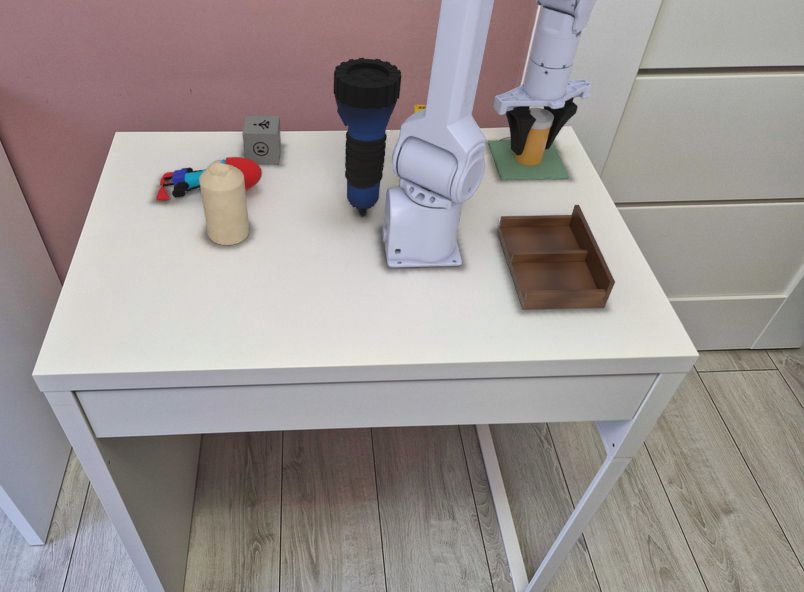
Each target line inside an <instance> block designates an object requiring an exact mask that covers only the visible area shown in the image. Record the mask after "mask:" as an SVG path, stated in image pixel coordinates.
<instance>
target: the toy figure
mask: <svg viewBox="0 0 804 592" xmlns="http://www.w3.org/2000/svg"><path fill="white" fill-rule="evenodd" d="M212 163H223V164H227V165H231V166H234V167H236V168H237V169H239V170H240V171H241V172H242V173H243V175H244V182H245V191H248V190H249V189H251V188H253V187H254V186H256V185H257V184H258V183H259V181H260V180H261V178H262V176H263V170H262V168H261V166H260V164H257V163H256V162H254V161H252V160H250V159H246V158H245V157H241V156H231V157H230V156H229V157H228V156H227V157H226V158H225V159H217V160H214V161H212V162H211V163H210V164H212ZM208 167H209V165H208V166H207V167H206V168H204V169H203V168H202V169H197V170H194V169H193V168H192V167H182V168H181V169H176V170H173V171H167V172H165V173H164V174H163V175H162V176H161V178H160V181H159V186H160V187H159V189H158V191H157V194H156V197H155V200H156V201H158V202H159V201H161V202H162V201H166V200H170V199H172V198H171V196H169V194H168V192H167V190H166V188H165V187H171V186H172V187H173V188H172V189H173V190H172V192H171V195H172V197H173V198H175V199H176V198H177V199H178V198H184V197H185V195H186V192H191V191H193V190H198V189H201V188H200V182H199V178H200V175H201V174H202V173H203V172H204V171H205V170H206V169H207V168H208ZM169 181H171V182H169Z"/></svg>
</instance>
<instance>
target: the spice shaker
mask: <svg viewBox="0 0 804 592" xmlns="http://www.w3.org/2000/svg"><path fill="white" fill-rule="evenodd" d="M529 110H531V112H530V114H531V115H532V116H533V117H534V118H535V119H536V121H535V123H534V124H533V126H532V127H531V129H530V132H529V134H528V136H527V140H526V144H525V147H524V150H523V153H522V155H516V154H514V158H515V160H516V161H517V162H518V163H520V164H523V165H527V166H534V165H538V164H540V163H541V162H542V159H543V155H544V151H545V148H546V144H547V140H548V136H549V132H550V128H551V126H552V124H553V120H554V115H553V114H552V113H551V112H550V111H548V110H545V109H544V108H542V107H529Z"/></svg>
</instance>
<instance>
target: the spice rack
mask: <svg viewBox="0 0 804 592" xmlns="http://www.w3.org/2000/svg"><path fill="white" fill-rule="evenodd" d="M591 229H592V228H591V227H590V225H589V223H588V220H587V219H586V216H585V214H584V212H583V210H582V209H581V206H580V204H574V206H573V209H572V212H571V214H539V215H501V216H500V219H499V225H498V228H497V235H498V237H499V240H500V244H501V247H502V250H503V252H504V255H505V259H506V262H507V265H508V268H509V271H510V274H511V277H512V280H513V284H514V286H515V290H516V294H517V296H518V300H519V302H520V305H521V308H522V310H524V311H527V310H528V311H529V310H564V309H565V310H567V309H570V310H571V309H572V310H573V309H603V308H606V305H607V303H608V301H609V298H610V295H611V293H612V291H613V288H614V286H615V284H616V281H615V279H614V275H613V274H612V272H611V269H610V268H609V266H608V263H607V261H606V259H605V258H604V255H603V253H602V251H601V247H600V246H599V244H598V241H597V239H596V237H595V236H594V233H593V232H592V230H591Z"/></svg>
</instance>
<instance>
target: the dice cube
mask: <svg viewBox="0 0 804 592" xmlns="http://www.w3.org/2000/svg"><path fill="white" fill-rule="evenodd" d="M243 123H244V124H243V128H242V132H241V133H242V143H243V145H242V146H243V152H244V154H243V155H244V158H246V159H250V160H252V161H254V162H256V163H257V164H258V165H280V159H281V152H282V151H281V150H282V137H281V136H282V135H281V120H280V115H245V118H244V122H243Z"/></svg>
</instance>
